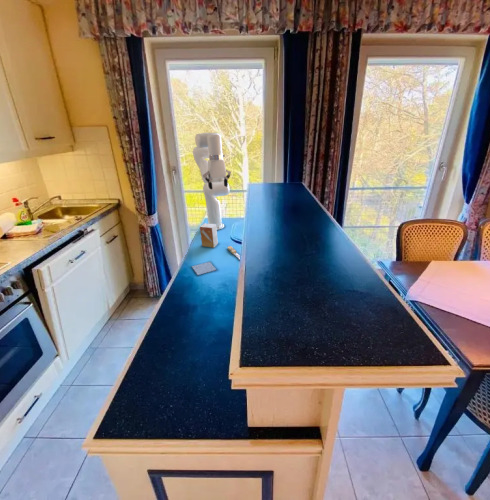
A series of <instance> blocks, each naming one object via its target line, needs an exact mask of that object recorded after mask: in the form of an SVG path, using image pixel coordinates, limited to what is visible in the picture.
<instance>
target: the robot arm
mask: <svg viewBox="0 0 490 500" xmlns="http://www.w3.org/2000/svg"><path fill="white" fill-rule="evenodd" d="M194 142H195V147H194V148H193V149H192V157H193V159H194V161H195V163H196V166H197V167H198V168H199V172H200V175H201V179H202V181H203V183H204V185H203V186H202V191H203V196H204V200H205V206H206V215H207V224H216V228H217V231H219V230H222V229H224V228H225V224H224V223H223V221H222V209H221V202H220V200H219V199H218V198H217V197H224V196H228V195H229V194H230V185H229V181H228V180H229V178H230V177H231V174H232V171H230V170H228V169H227V168H226V163H225V159H224V158H225V154H223V146H222V135H221V134H220V133H219V132H201V133H196V134H195V137H194ZM206 159H208V160H206Z"/></svg>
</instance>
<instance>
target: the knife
mask: <svg viewBox="0 0 490 500" xmlns="http://www.w3.org/2000/svg"><path fill="white" fill-rule="evenodd" d="M227 250H228V251H229V252H230V253H231V254H232V255H233V256H234V257H236V258H237V259H238V260H239V261H241V260H240V256H241V255H240V254H239V253H238V252H237V250H236V249H235V248H234V247H233V246H231V245H228V246H227Z"/></svg>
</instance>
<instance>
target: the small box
mask: <svg viewBox="0 0 490 500" xmlns="http://www.w3.org/2000/svg"><path fill="white" fill-rule="evenodd" d="M199 232H200V239H201V240H200V241H201V247H205V248H213V249H214V248H215V247H216V246H217V245H218V244H219V241H218V240H219V239H218V230H217V228H216V224H208V223H205V222H204V223H203V224H201V225H200V226H199Z"/></svg>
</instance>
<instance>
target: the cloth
mask: <svg viewBox="0 0 490 500" xmlns="http://www.w3.org/2000/svg"><path fill="white" fill-rule="evenodd" d="M191 268H192V269H193V271H194V272H195V274H196V275H197V276H200V275H204V274H208V273H211V272H215V271H217V269H216V267H215V266H214V265H213V264H212V262H211V261H207V262H203V263H199V264H196V265H192V266H191Z"/></svg>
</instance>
